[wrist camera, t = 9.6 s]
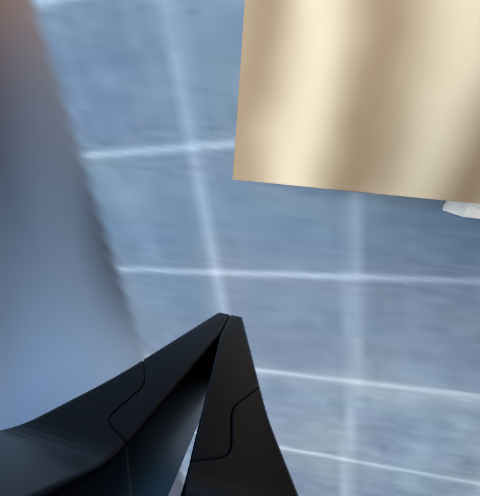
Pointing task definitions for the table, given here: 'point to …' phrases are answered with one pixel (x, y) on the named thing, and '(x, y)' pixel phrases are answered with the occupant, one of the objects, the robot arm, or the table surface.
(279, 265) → the table surface
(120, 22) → the table surface
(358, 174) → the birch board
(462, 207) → the tray
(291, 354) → the table surface
